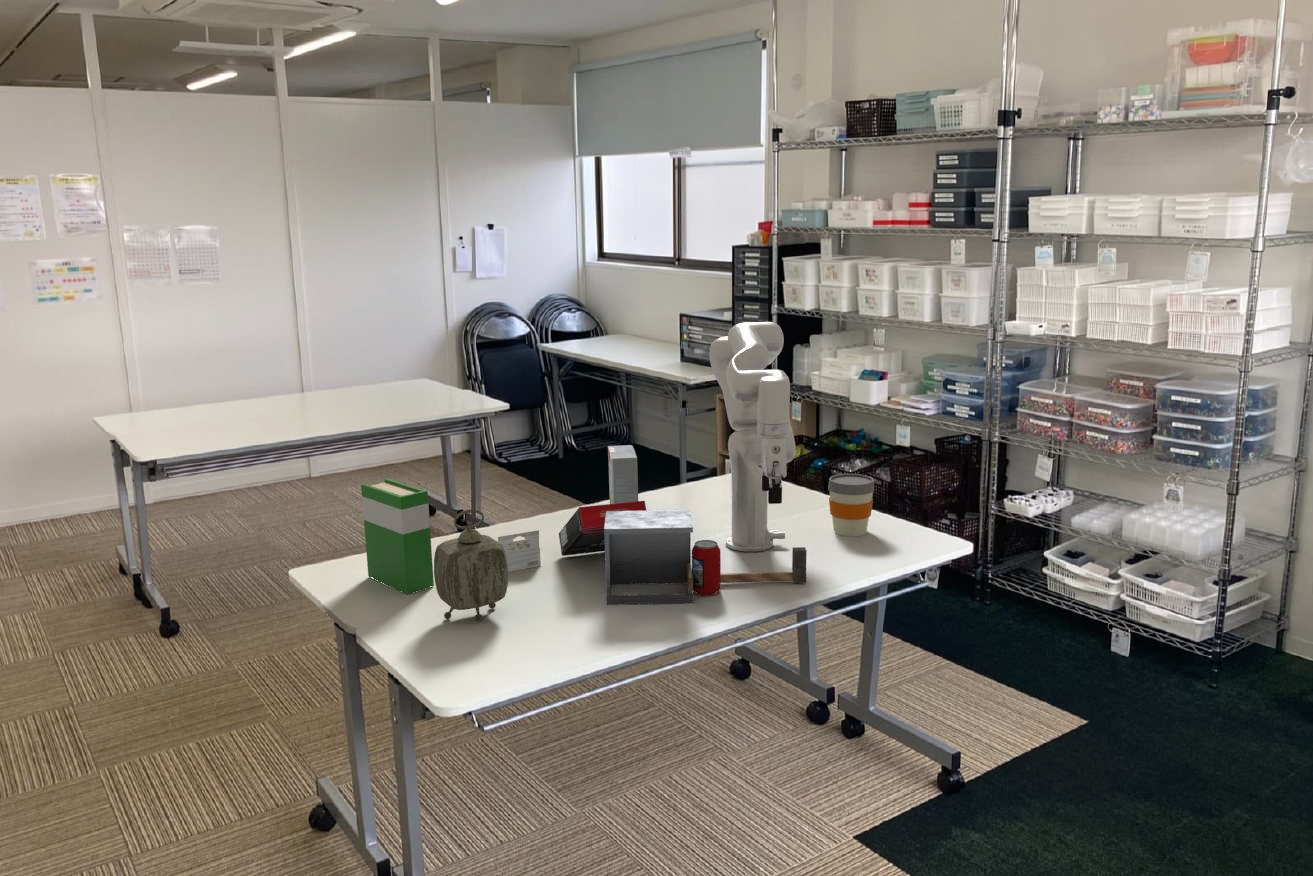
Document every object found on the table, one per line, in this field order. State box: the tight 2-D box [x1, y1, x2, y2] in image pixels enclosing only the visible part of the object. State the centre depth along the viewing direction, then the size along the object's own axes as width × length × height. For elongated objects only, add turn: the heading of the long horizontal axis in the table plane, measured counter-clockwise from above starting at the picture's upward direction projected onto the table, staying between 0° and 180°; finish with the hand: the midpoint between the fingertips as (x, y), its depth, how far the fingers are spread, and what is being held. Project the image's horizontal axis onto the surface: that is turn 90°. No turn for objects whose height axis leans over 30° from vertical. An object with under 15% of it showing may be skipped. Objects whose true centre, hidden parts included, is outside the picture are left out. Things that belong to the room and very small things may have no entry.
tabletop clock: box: [433, 508, 509, 622], centre depth 228 cm, size 14×9×25 cm, turn 123°
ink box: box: [497, 529, 542, 573], centre depth 261 cm, size 2×11×10 cm, turn 117°
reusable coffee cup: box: [827, 473, 875, 537], centre depth 286 cm, size 13×13×15 cm
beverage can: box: [691, 539, 722, 596], centre depth 243 cm, size 7×7×12 cm
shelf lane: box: [604, 509, 695, 606], centre depth 242 cm, size 20×14×18 cm
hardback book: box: [360, 478, 435, 596], centre depth 252 cm, size 18×7×24 cm, turn 46°
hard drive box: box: [607, 444, 639, 504], centre depth 302 cm, size 16×8×20 cm, turn 6°
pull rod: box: [686, 546, 808, 595], centre depth 244 cm, size 28×11×8 cm, turn 91°
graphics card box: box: [558, 500, 647, 557], centre depth 262 cm, size 17×7×27 cm
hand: (771, 496), depth 250 cm, fingers open, 9 cm apart
